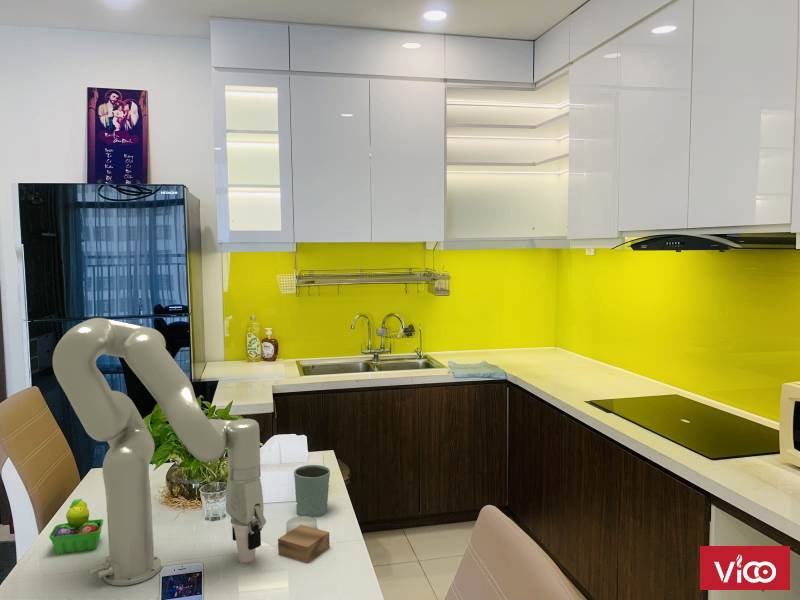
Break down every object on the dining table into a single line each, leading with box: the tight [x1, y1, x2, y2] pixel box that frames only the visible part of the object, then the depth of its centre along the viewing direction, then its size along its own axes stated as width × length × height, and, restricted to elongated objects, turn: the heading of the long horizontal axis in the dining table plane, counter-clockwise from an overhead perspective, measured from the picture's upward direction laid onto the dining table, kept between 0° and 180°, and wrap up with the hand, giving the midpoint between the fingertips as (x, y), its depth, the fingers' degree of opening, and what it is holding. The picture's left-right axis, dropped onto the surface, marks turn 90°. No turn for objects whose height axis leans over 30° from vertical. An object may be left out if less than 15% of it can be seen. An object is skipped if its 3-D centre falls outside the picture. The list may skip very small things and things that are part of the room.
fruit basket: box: [48, 498, 104, 555], centre depth 162 cm, size 11×9×11 cm
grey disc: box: [285, 515, 318, 534], centre depth 169 cm, size 8×8×2 cm
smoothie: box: [231, 516, 257, 564], centre depth 154 cm, size 6×6×14 cm
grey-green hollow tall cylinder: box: [293, 464, 331, 518], centre depth 181 cm, size 10×10×12 cm
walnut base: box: [277, 525, 331, 564], centre depth 158 cm, size 9×9×4 cm
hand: (246, 542), depth 155 cm, fingers open, 6 cm apart
